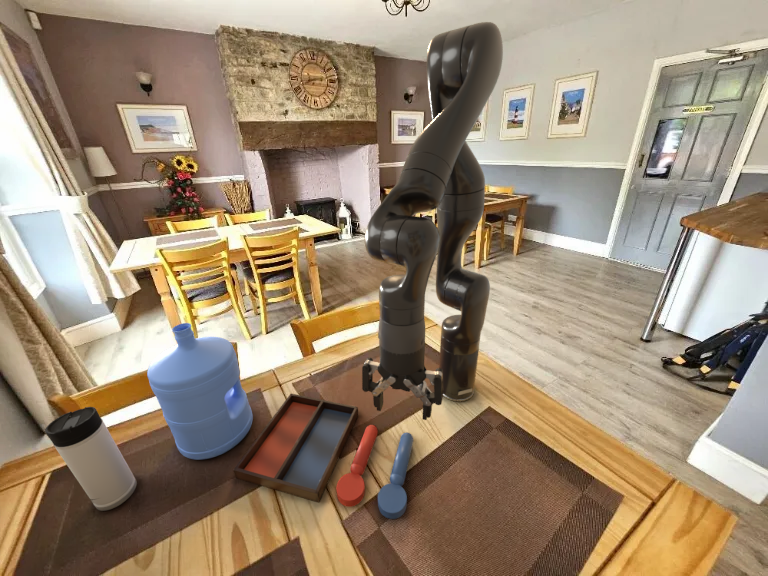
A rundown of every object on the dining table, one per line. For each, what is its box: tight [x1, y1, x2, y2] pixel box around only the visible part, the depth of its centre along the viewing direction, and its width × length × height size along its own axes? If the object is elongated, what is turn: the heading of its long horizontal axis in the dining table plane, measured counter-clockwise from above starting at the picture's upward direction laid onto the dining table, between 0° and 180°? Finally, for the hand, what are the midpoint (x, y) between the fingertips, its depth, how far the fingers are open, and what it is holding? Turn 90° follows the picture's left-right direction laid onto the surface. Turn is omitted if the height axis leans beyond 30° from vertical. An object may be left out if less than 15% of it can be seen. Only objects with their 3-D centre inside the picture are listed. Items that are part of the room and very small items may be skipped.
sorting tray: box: [232, 393, 359, 503], centre depth 67 cm, size 21×18×3 cm
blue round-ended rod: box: [377, 431, 414, 520], centre depth 60 cm, size 17×5×3 cm, turn 164°
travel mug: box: [44, 406, 138, 512], centre depth 55 cm, size 6×7×20 cm
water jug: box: [146, 322, 254, 461], centre depth 66 cm, size 16×16×28 cm
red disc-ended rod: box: [335, 424, 379, 508], centre depth 63 cm, size 17×5×3 cm, turn 164°
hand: (402, 411), depth 57 cm, fingers open, 8 cm apart
